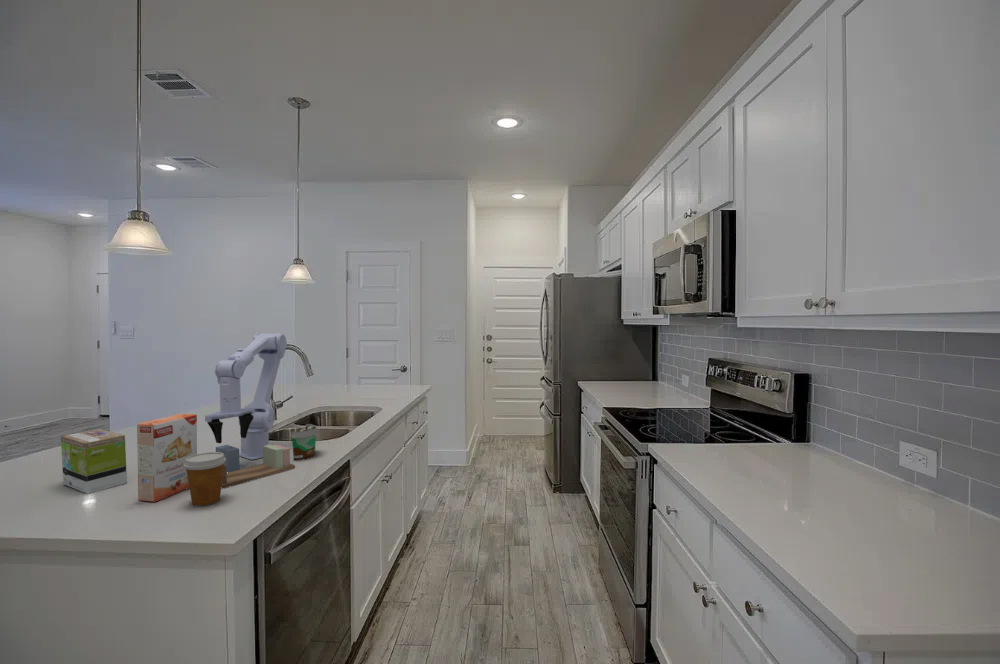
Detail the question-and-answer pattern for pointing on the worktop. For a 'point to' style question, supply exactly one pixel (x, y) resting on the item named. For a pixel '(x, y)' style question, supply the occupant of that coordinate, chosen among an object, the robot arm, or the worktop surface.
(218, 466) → the disposable coffee cup
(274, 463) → the book row
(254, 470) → the shelf
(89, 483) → the tea box
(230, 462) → the grey rectangular block
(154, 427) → the cracker box
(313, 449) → the food container
